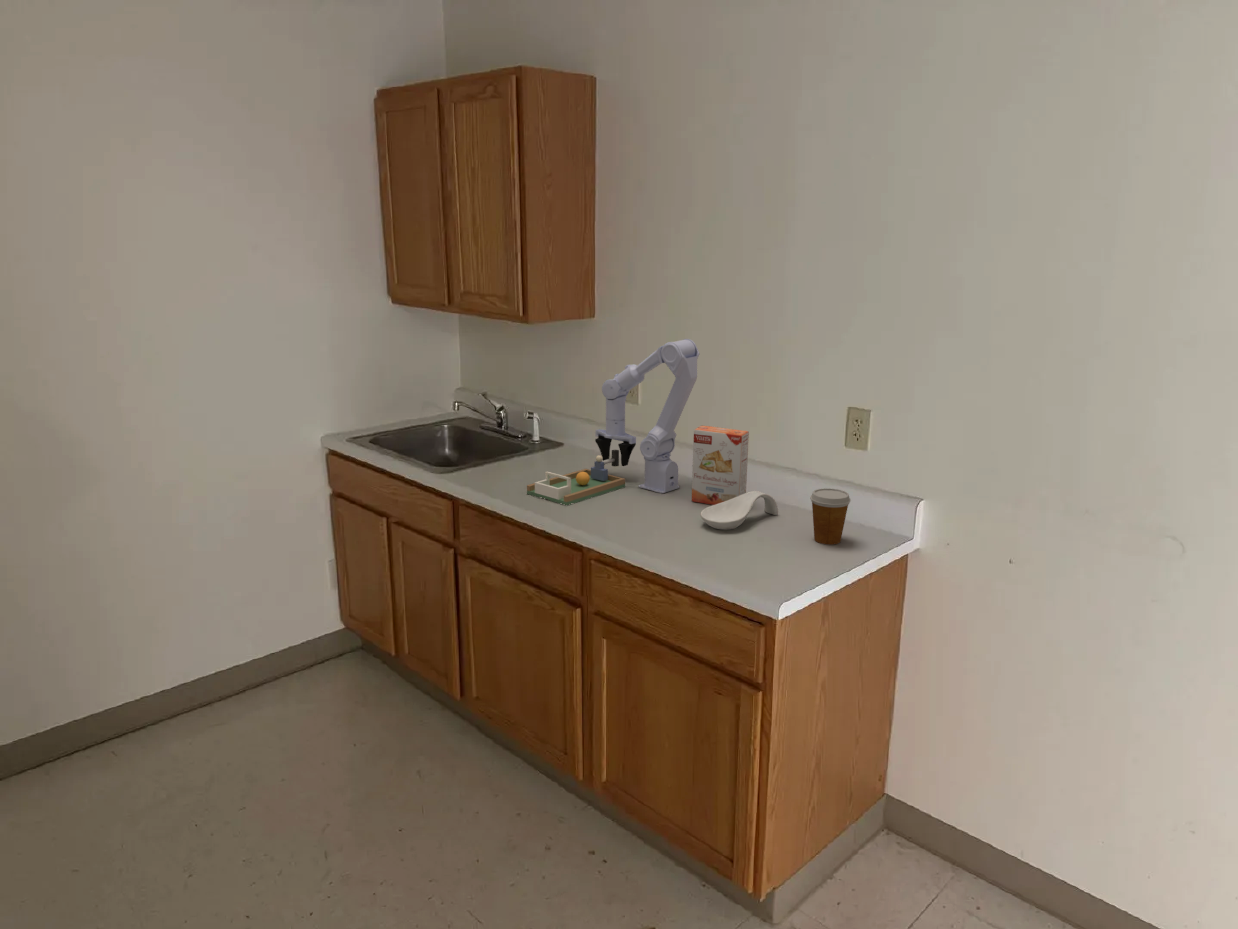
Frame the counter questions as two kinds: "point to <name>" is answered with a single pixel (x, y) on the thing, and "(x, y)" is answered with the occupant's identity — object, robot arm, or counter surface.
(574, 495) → the pitch
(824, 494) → the disposable coffee cup
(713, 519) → the spoon rest
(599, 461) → the striker
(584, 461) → the counter surface
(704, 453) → the cracker box
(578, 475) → the ball
